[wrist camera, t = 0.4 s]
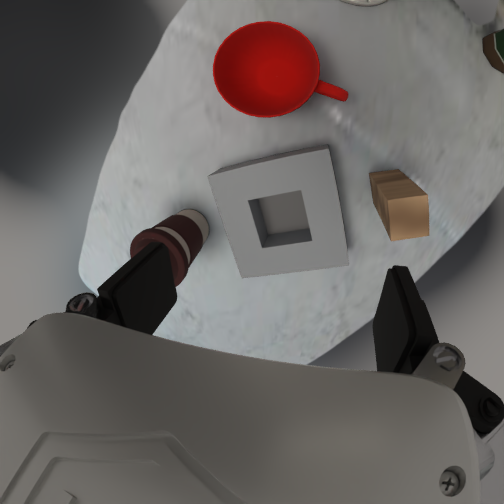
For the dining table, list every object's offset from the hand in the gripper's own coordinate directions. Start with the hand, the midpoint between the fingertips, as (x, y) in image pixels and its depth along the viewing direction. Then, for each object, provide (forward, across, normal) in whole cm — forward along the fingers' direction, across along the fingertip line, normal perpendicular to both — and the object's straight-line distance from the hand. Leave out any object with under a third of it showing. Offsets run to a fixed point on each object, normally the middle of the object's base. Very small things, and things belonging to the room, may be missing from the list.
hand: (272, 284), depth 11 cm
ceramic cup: (+34, +3, -12) cm, 37 cm away
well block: (+34, +4, +8) cm, 36 cm away
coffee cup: (+35, +21, +13) cm, 43 cm away
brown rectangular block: (+34, -12, +3) cm, 37 cm away
